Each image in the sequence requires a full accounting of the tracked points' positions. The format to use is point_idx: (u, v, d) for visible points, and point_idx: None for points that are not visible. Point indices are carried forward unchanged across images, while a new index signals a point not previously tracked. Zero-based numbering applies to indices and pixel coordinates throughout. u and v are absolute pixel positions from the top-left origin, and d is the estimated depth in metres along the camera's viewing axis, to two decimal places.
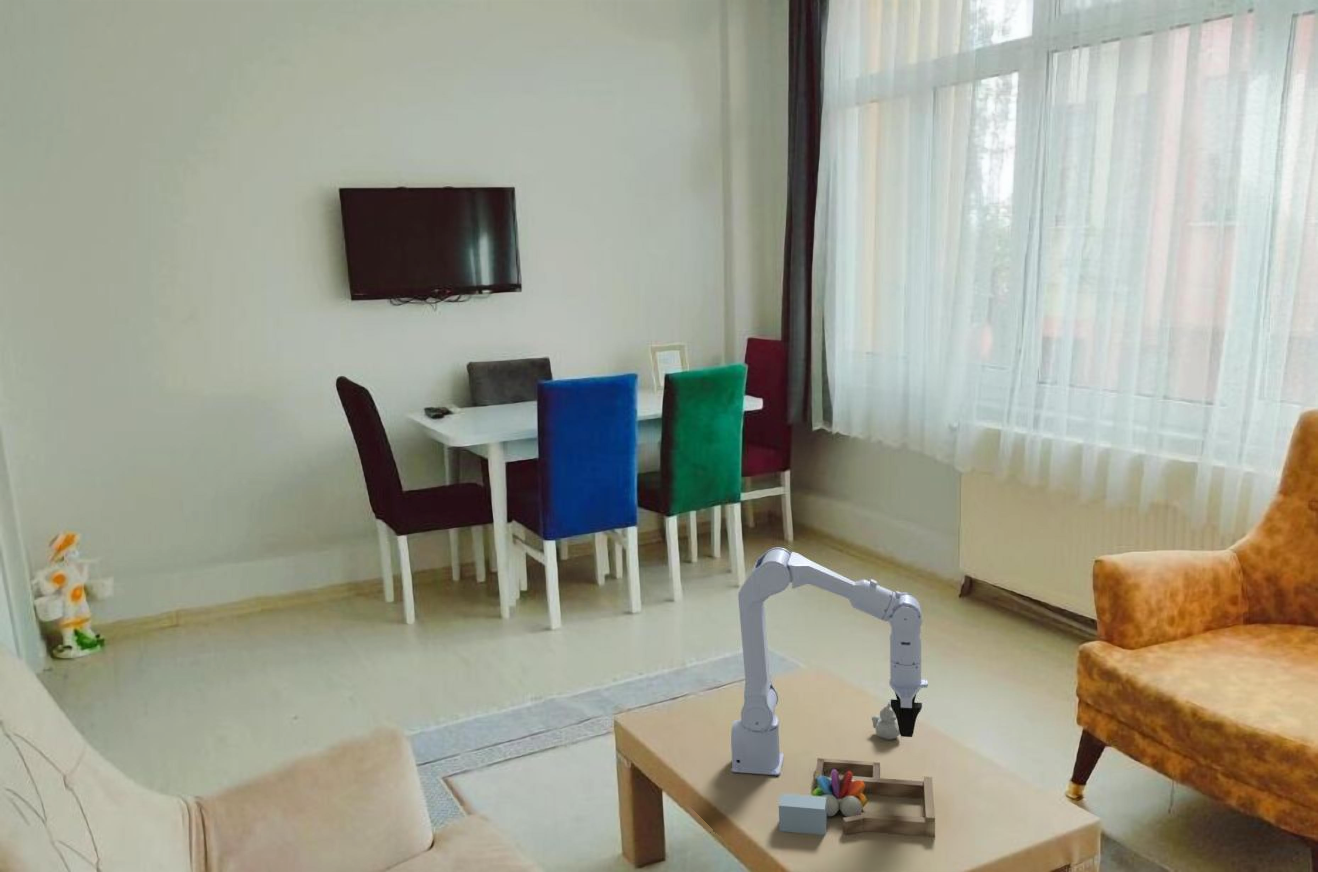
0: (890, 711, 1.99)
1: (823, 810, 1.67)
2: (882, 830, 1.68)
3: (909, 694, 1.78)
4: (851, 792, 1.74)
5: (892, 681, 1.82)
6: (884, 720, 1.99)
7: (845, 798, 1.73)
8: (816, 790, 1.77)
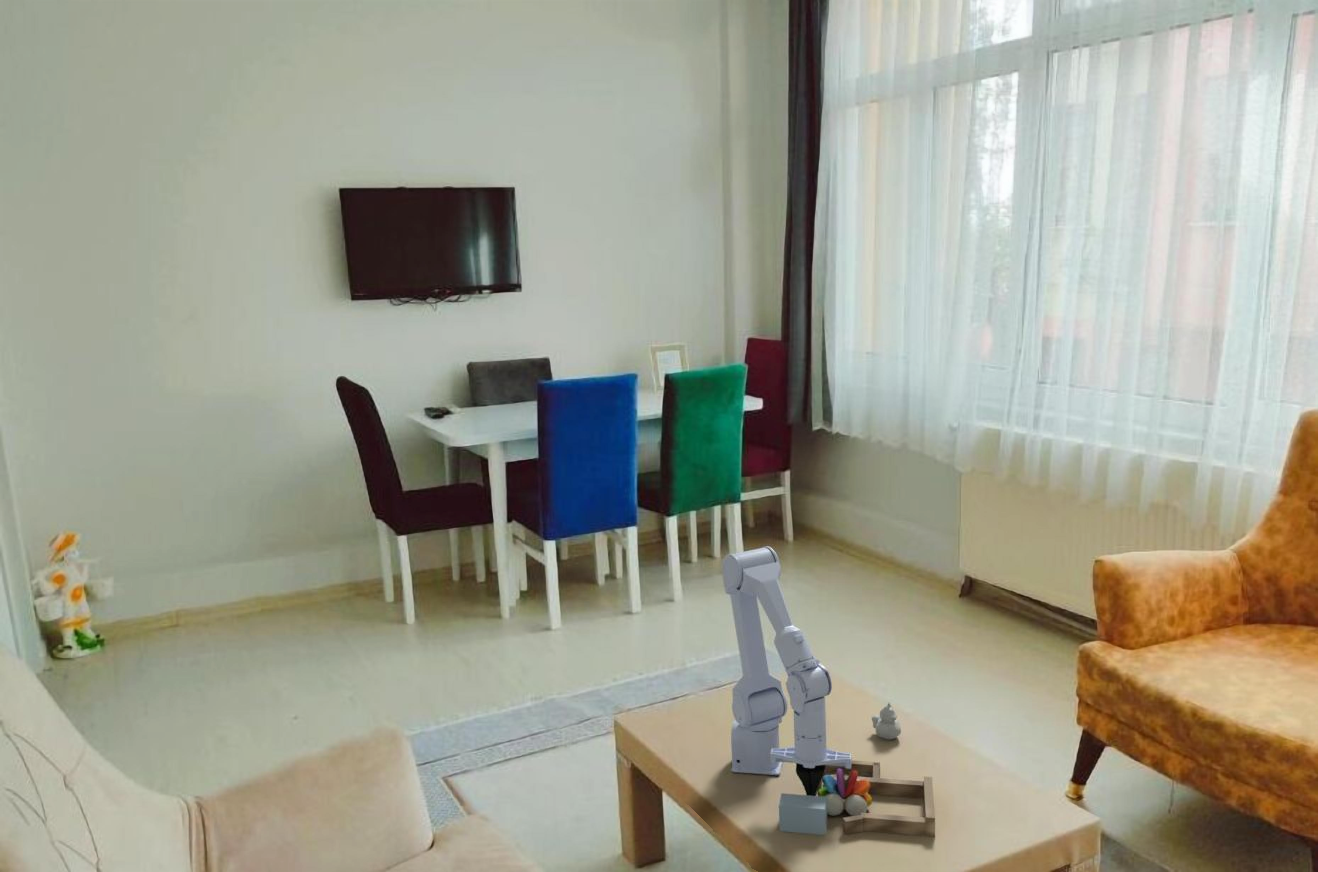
0: (890, 711, 1.99)
1: (823, 810, 1.67)
2: (882, 830, 1.68)
3: (783, 755, 1.76)
4: (856, 791, 1.73)
5: None
6: (884, 720, 1.99)
7: (850, 797, 1.73)
8: (821, 789, 1.77)
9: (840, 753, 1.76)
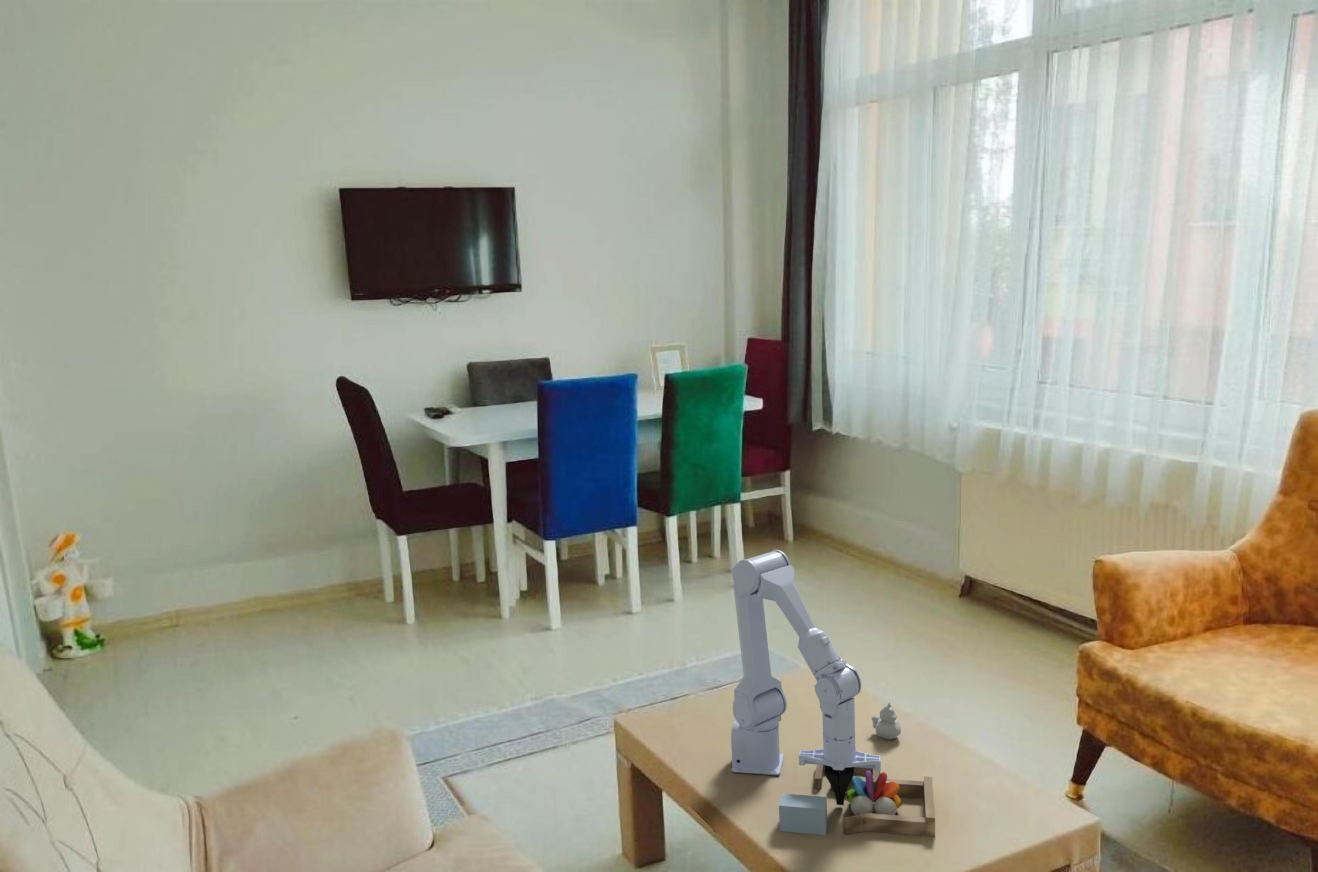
0: (890, 711, 1.99)
1: (823, 810, 1.67)
2: (882, 830, 1.68)
3: (812, 757, 1.75)
4: (885, 793, 1.72)
5: None
6: (884, 720, 1.99)
7: (879, 799, 1.71)
8: (850, 791, 1.76)
9: (869, 755, 1.74)
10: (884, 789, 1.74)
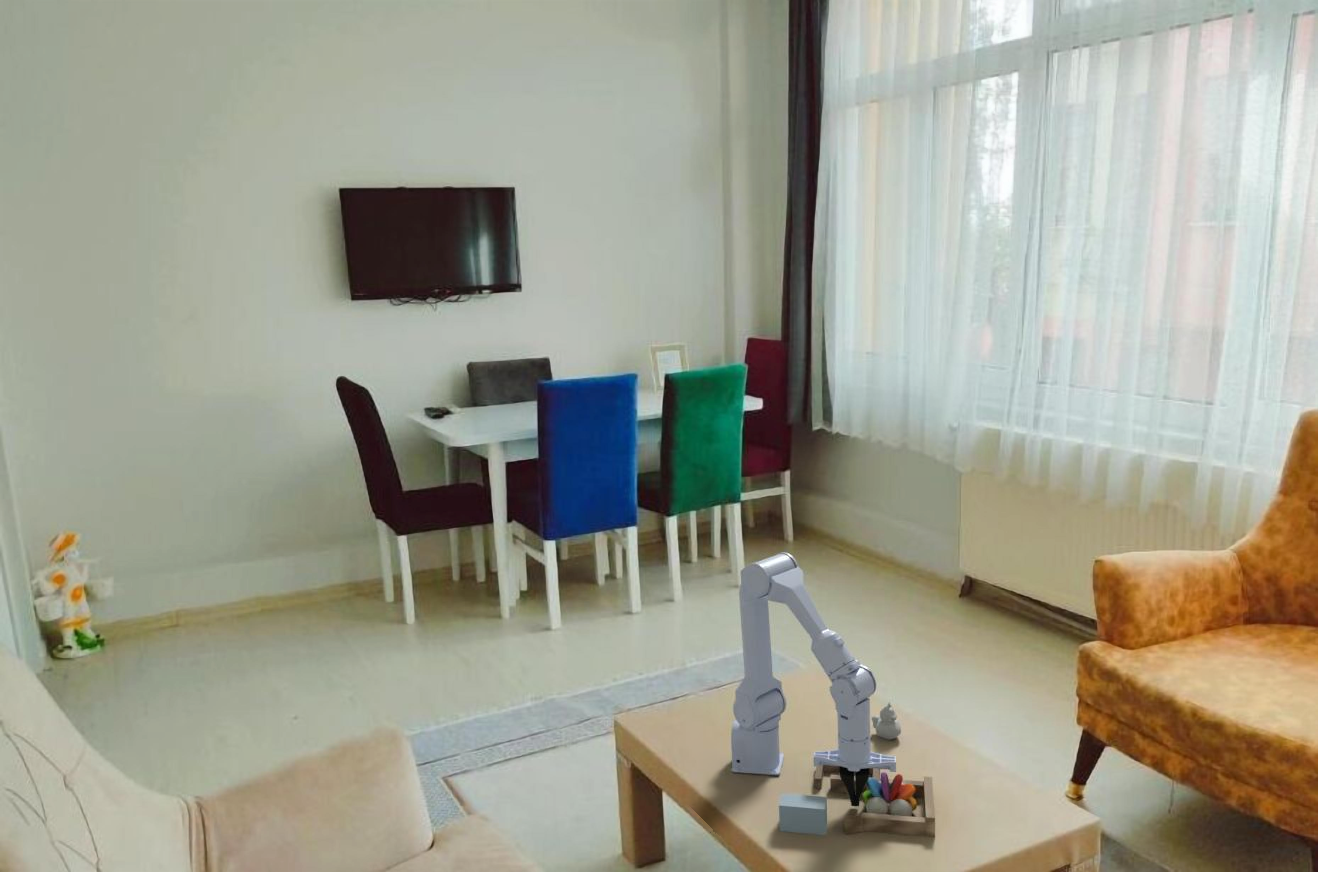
0: (890, 711, 1.99)
1: (823, 810, 1.67)
2: (882, 830, 1.68)
3: (826, 758, 1.75)
4: (901, 795, 1.72)
5: None
6: (884, 721, 1.99)
7: (895, 801, 1.71)
8: (865, 792, 1.75)
9: (884, 756, 1.74)
10: (900, 791, 1.73)
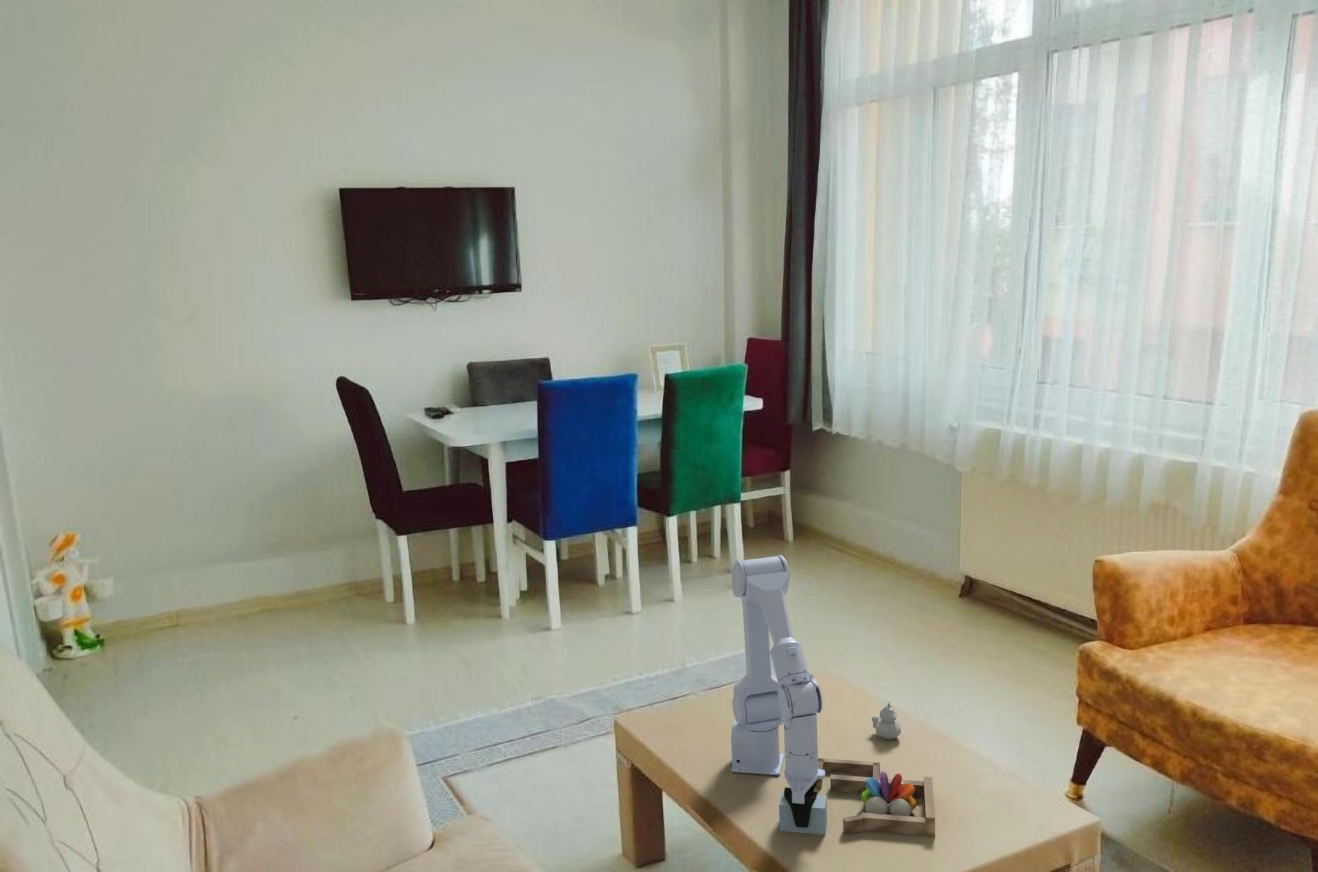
0: (890, 711, 1.99)
1: (823, 809, 1.67)
2: (882, 830, 1.68)
3: (802, 788, 1.64)
4: (900, 795, 1.72)
5: (786, 771, 1.68)
6: (884, 720, 1.99)
7: (894, 801, 1.71)
8: (865, 792, 1.75)
9: None
10: (899, 790, 1.74)
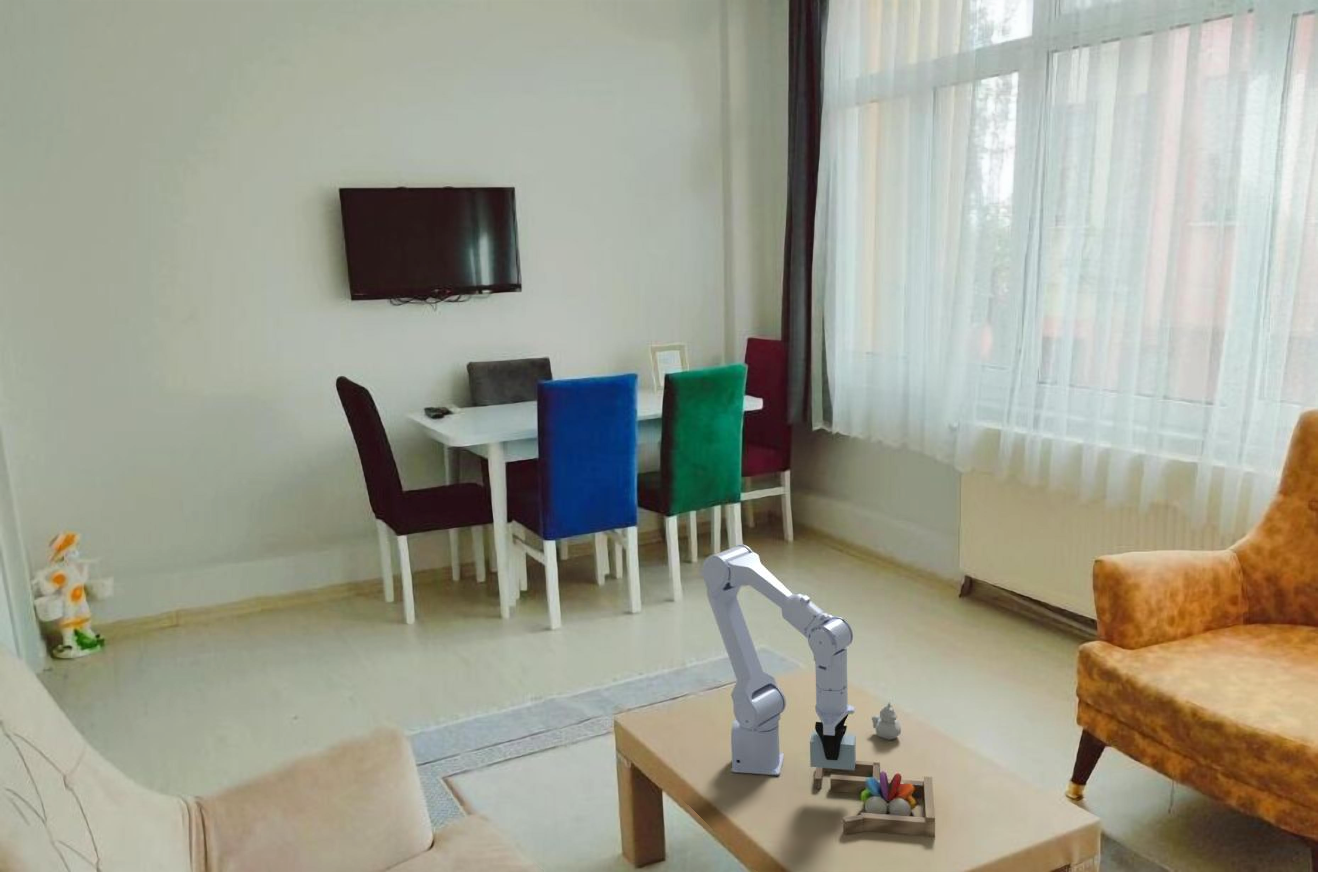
0: (890, 711, 1.99)
1: (852, 746, 1.76)
2: (882, 830, 1.68)
3: (833, 721, 1.73)
4: (900, 795, 1.72)
5: (817, 707, 1.77)
6: (884, 720, 1.99)
7: (894, 800, 1.71)
8: (864, 792, 1.76)
9: None
10: (899, 790, 1.74)
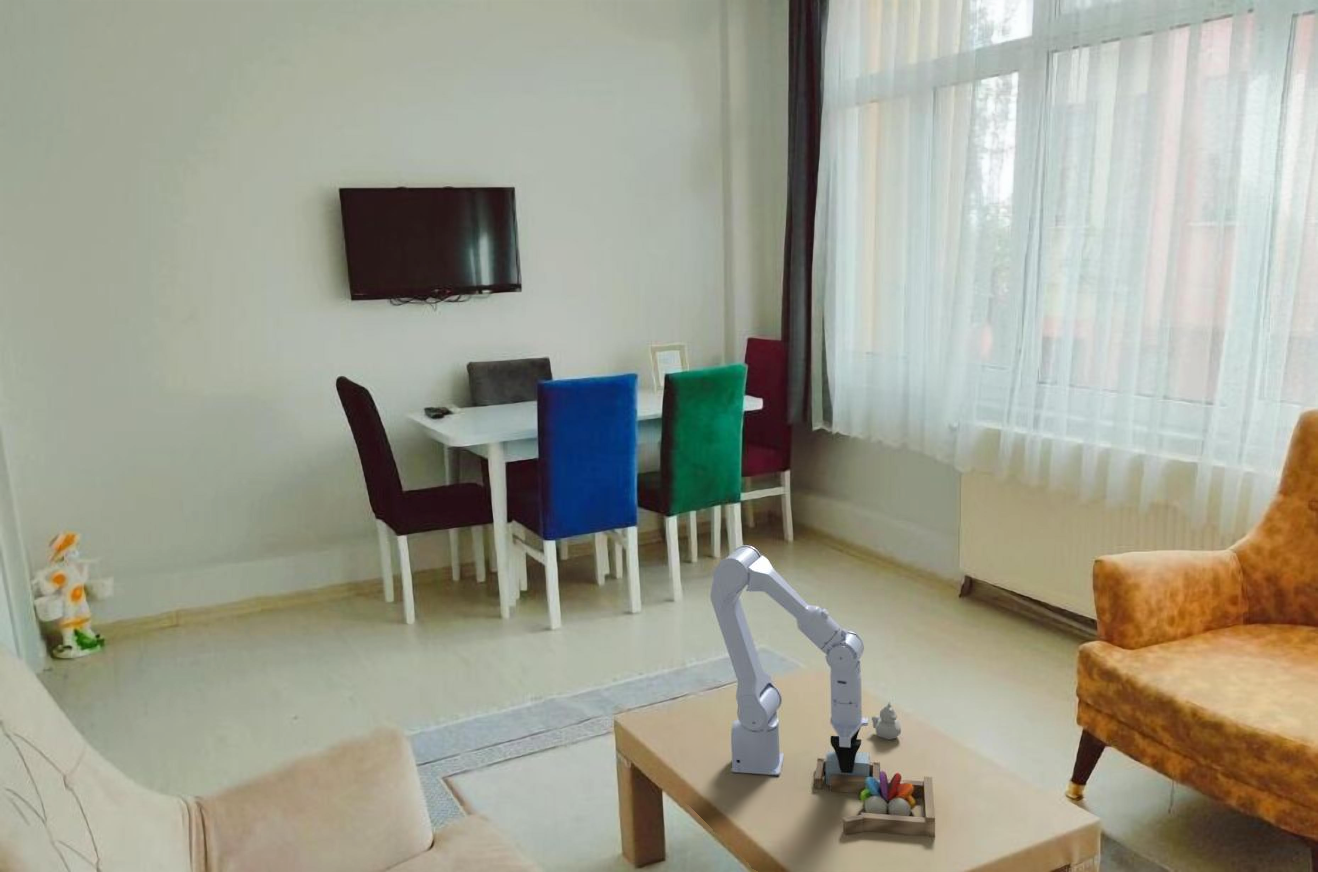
0: (890, 711, 1.99)
1: (867, 764, 1.82)
2: (882, 830, 1.68)
3: (848, 733, 1.78)
4: (900, 794, 1.72)
5: (832, 719, 1.82)
6: (884, 721, 1.99)
7: (893, 800, 1.71)
8: (864, 791, 1.76)
9: None
10: (898, 790, 1.74)
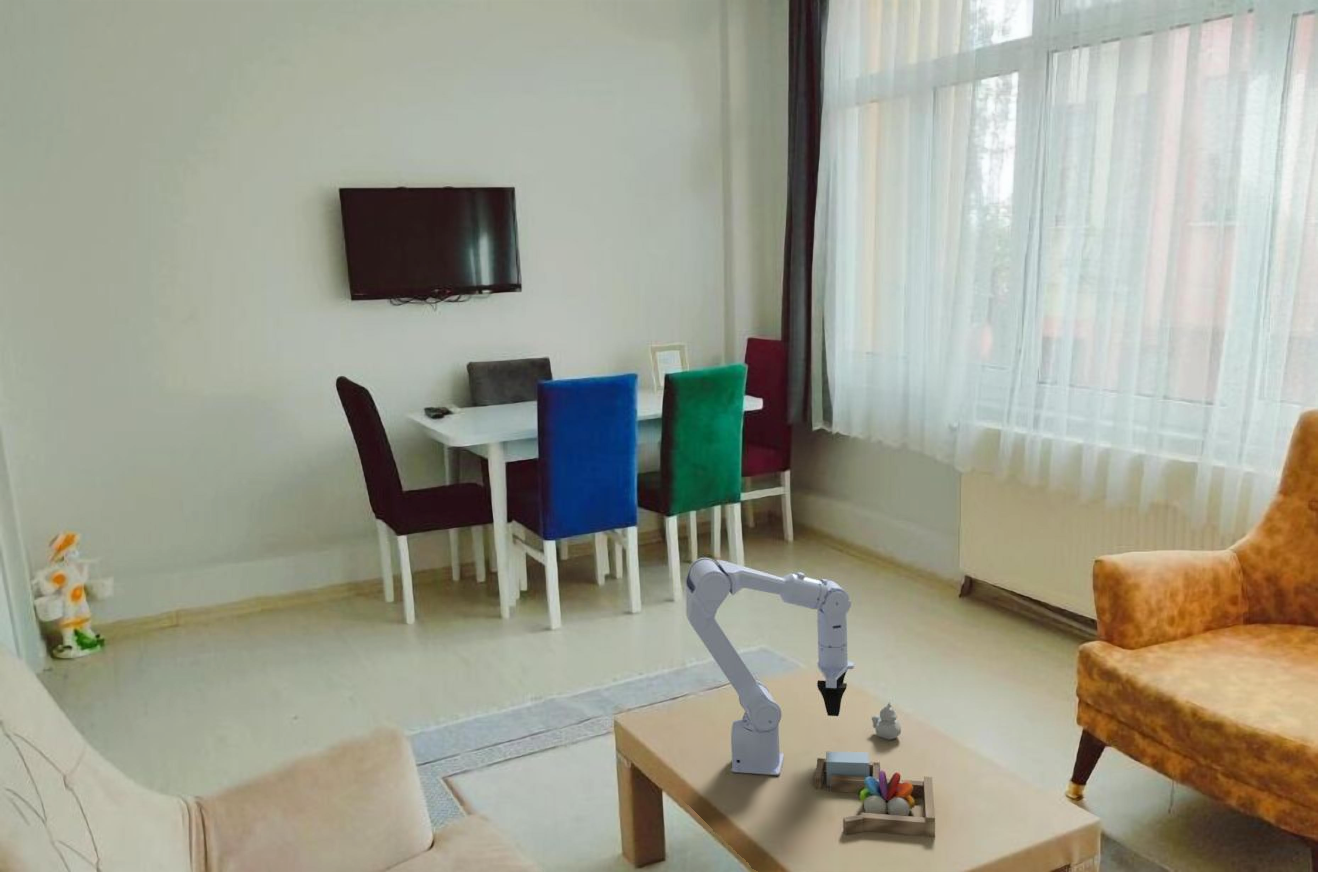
0: (890, 711, 1.99)
1: (868, 764, 1.82)
2: (882, 830, 1.68)
3: (834, 675, 1.87)
4: (899, 794, 1.72)
5: (820, 663, 1.91)
6: (884, 720, 1.99)
7: (893, 800, 1.71)
8: (863, 791, 1.76)
9: None
10: (897, 789, 1.74)
